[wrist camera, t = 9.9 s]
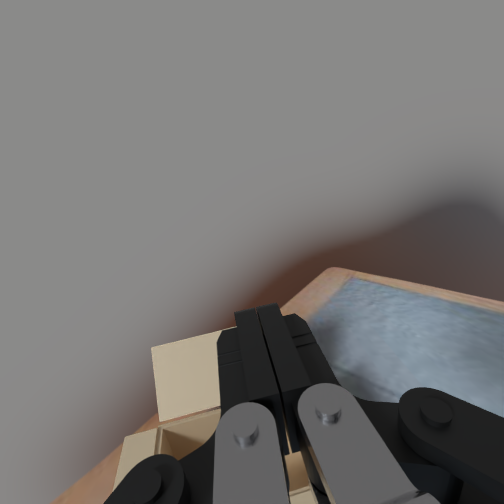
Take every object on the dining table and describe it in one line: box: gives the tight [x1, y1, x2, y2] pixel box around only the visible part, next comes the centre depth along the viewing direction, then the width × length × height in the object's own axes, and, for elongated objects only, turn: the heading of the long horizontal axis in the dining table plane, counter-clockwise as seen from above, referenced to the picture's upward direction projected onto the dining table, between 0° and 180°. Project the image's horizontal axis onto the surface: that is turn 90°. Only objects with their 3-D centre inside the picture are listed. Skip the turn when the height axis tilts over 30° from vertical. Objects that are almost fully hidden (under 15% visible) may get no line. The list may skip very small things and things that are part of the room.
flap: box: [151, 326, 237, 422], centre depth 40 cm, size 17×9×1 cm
